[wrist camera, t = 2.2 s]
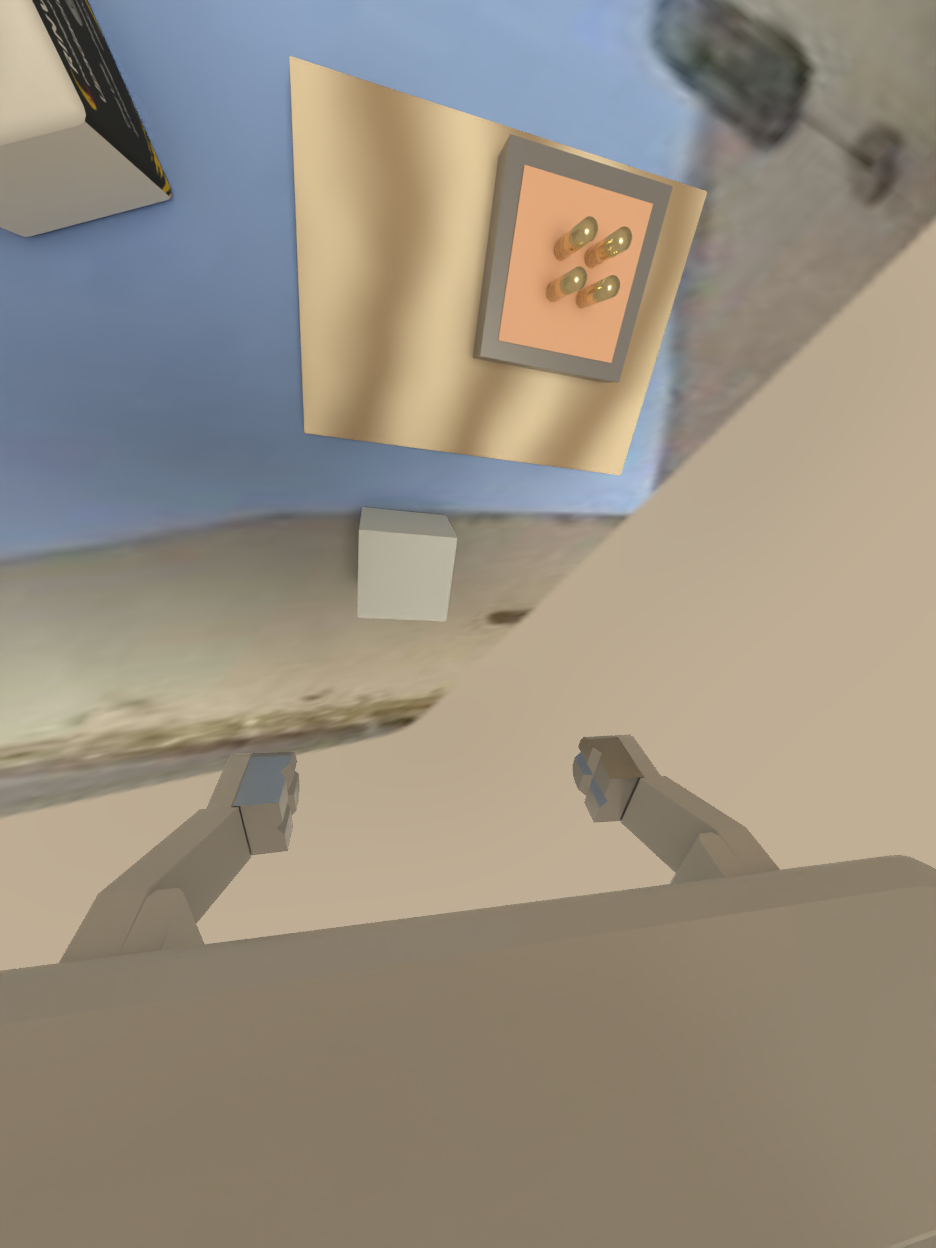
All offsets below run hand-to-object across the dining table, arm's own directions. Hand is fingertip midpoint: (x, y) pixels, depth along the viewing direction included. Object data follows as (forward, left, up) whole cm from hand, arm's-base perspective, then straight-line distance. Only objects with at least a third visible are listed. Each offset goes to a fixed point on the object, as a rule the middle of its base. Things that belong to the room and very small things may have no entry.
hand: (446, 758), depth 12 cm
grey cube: (0, -1, -20) cm, 20 cm away
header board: (+4, +13, -20) cm, 24 cm away
